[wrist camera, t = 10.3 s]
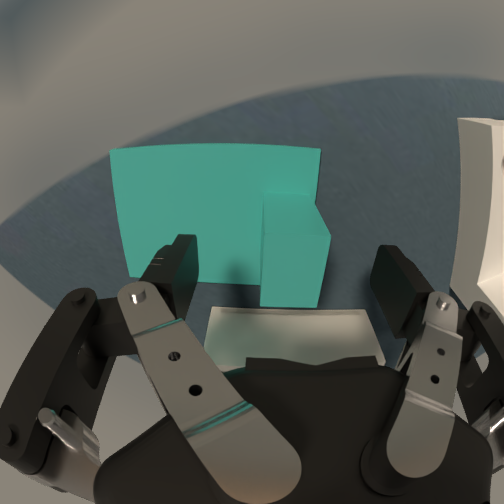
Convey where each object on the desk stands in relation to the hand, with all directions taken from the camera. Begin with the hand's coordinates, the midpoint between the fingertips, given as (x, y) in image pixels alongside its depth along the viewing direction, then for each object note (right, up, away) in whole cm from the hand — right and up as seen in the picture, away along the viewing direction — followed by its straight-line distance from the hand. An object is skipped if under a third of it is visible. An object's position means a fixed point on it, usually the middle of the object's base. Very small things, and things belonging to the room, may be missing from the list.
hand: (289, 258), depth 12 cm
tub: (+1, -7, +9) cm, 12 cm away
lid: (-4, +2, +4) cm, 6 cm away
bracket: (+16, +4, +3) cm, 17 cm away
